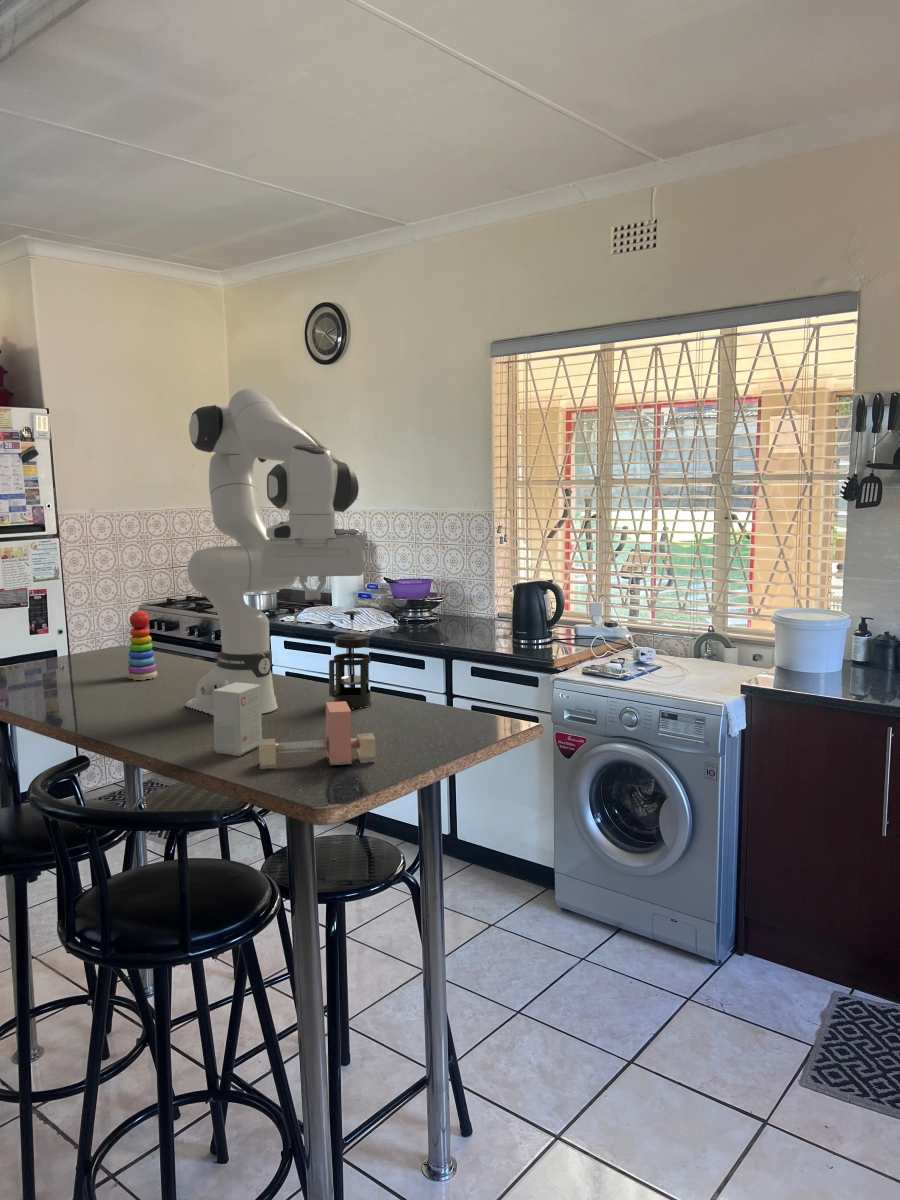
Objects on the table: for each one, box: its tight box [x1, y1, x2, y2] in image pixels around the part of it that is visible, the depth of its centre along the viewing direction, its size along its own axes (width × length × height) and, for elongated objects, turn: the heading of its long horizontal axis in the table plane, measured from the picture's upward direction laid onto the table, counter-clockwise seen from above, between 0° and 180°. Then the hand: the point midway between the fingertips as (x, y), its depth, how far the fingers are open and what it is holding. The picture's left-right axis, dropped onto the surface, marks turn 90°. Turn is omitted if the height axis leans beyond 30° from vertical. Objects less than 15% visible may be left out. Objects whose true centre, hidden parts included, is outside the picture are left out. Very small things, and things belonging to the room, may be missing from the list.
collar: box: [325, 701, 352, 763], centre depth 174 cm, size 4×8×10 cm, turn 13°
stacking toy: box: [126, 610, 158, 681], centre depth 246 cm, size 8×8×19 cm
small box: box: [212, 682, 263, 753], centre depth 182 cm, size 8×6×13 cm
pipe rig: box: [258, 732, 376, 767], centre depth 174 cm, size 22×4×5 cm, turn 103°
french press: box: [328, 610, 373, 710], centre depth 219 cm, size 12×9×23 cm
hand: (312, 599), depth 177 cm, fingers closed
